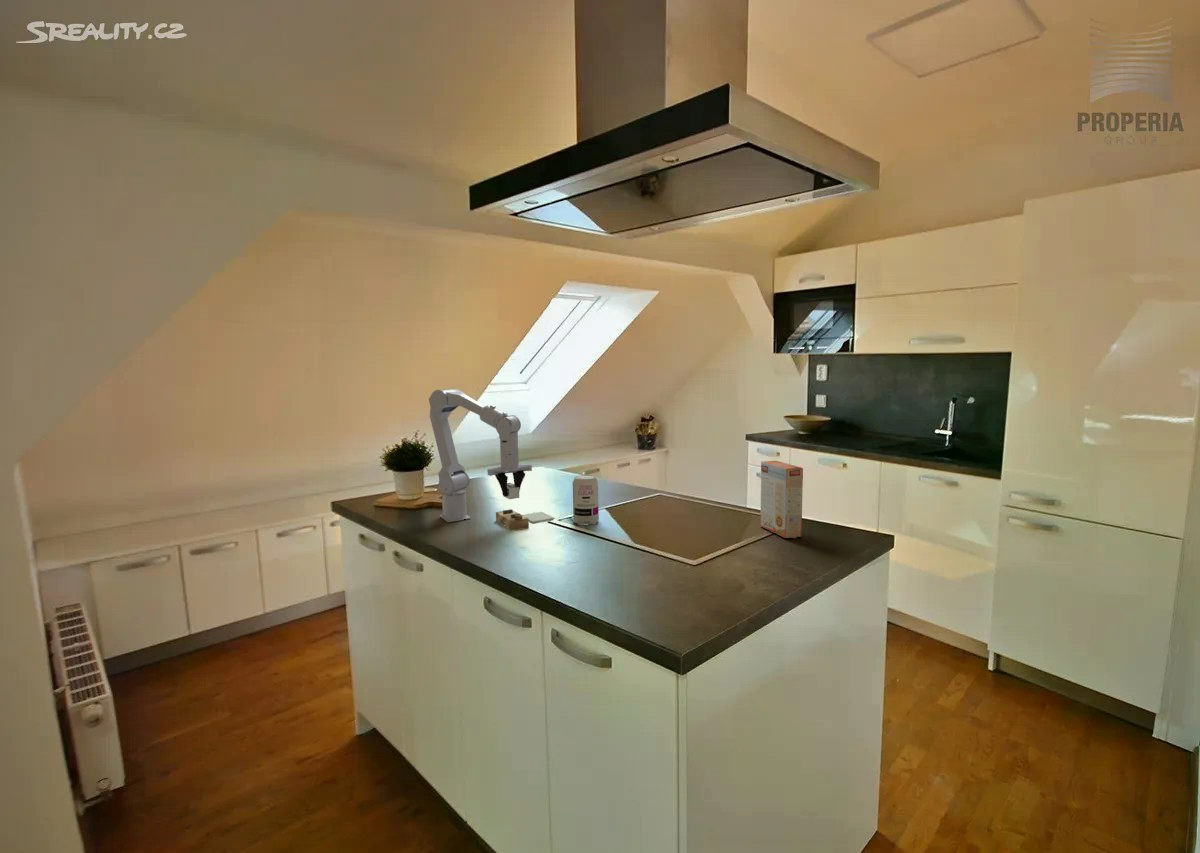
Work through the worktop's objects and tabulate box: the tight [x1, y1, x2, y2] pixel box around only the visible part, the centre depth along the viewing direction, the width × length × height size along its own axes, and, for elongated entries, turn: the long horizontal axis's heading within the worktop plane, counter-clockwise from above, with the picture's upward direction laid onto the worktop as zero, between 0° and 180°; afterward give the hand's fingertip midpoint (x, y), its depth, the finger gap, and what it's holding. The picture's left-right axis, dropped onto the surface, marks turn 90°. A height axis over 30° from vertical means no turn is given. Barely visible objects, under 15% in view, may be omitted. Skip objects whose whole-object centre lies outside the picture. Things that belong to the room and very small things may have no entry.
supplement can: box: [572, 474, 600, 525], centre depth 188 cm, size 8×8×15 cm
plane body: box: [495, 508, 530, 531], centre depth 188 cm, size 14×6×4 cm, turn 31°
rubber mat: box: [522, 511, 555, 524], centre depth 195 cm, size 10×8×1 cm
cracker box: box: [759, 460, 804, 538], centre depth 172 cm, size 14×6×21 cm, turn 14°
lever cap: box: [502, 482, 520, 500], centre depth 187 cm, size 5×4×4 cm
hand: (510, 494), depth 187 cm, fingers closed on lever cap, 3 cm apart
